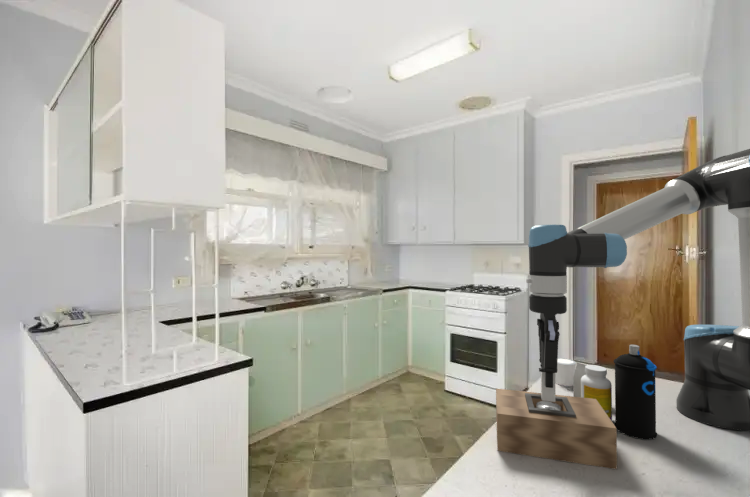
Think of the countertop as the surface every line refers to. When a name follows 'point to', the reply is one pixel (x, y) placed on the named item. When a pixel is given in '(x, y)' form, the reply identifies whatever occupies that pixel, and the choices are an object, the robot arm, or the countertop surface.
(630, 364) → the aerosol can
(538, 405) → the peg
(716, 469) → the countertop surface
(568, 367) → the white cup
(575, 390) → the grey boxy piece
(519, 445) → the socket block
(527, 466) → the countertop surface
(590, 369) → the supplement bottle
